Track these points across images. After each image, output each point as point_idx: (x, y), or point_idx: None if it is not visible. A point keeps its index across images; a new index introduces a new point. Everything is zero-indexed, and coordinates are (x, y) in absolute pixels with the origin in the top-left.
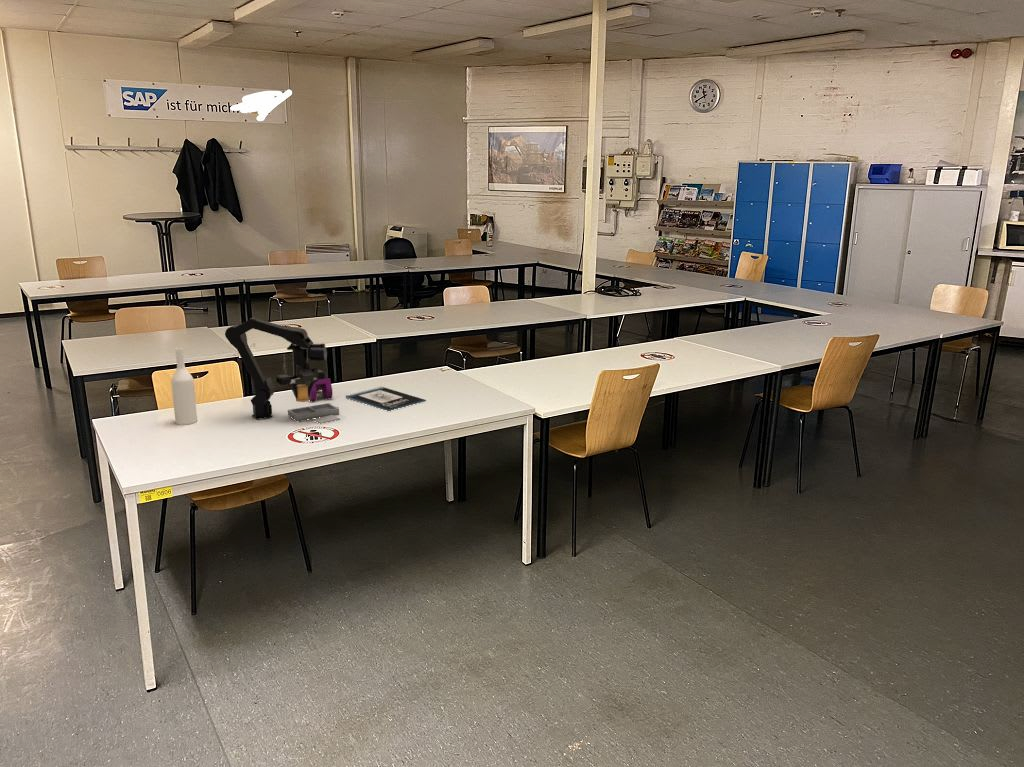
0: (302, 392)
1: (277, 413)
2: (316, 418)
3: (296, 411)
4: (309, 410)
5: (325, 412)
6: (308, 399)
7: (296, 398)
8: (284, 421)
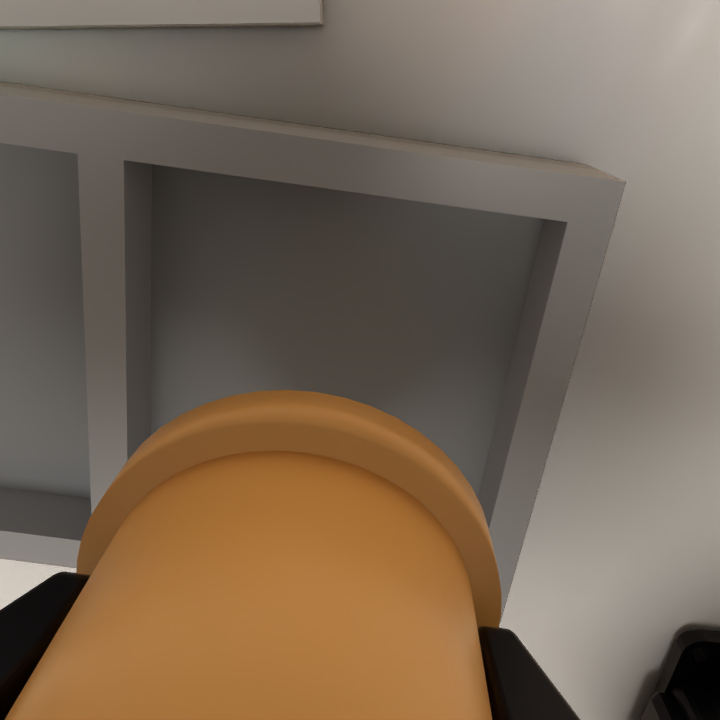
0: (353, 709)
1: None
2: (224, 18)
3: None
4: None
5: None
6: (156, 441)
7: (513, 637)
8: (711, 349)
